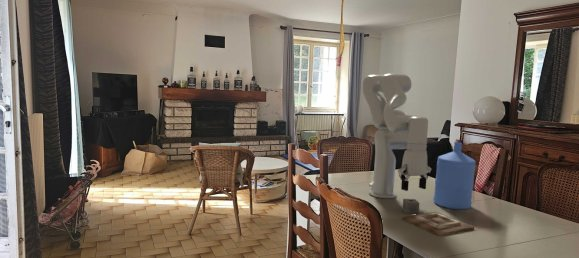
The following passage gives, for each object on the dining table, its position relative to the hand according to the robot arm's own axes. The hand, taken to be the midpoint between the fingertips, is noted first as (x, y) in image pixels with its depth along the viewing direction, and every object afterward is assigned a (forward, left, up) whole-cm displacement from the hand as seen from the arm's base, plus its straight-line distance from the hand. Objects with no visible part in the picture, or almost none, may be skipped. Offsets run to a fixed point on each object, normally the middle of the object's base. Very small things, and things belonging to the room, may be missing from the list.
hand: (413, 189), depth 156 cm
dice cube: (-1, 0, -10) cm, 10 cm away
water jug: (-3, +27, -10) cm, 29 cm away
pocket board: (+13, 0, -10) cm, 17 cm away
